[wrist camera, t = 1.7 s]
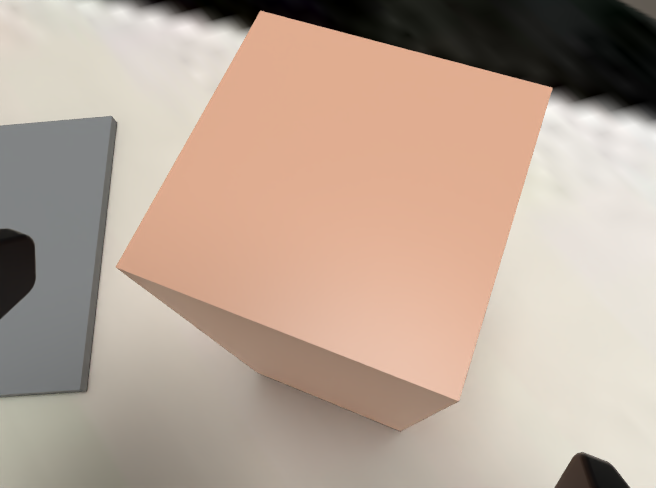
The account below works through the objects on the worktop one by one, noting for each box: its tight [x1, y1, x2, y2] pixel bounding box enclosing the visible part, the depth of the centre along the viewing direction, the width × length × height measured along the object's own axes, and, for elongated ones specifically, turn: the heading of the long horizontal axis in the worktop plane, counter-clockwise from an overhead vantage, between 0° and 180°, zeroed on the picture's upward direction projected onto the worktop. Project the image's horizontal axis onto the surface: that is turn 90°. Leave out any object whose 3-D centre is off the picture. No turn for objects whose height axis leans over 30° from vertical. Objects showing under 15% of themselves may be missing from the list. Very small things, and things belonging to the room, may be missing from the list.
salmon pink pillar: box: [116, 11, 552, 432], centre depth 14 cm, size 6×6×12 cm
